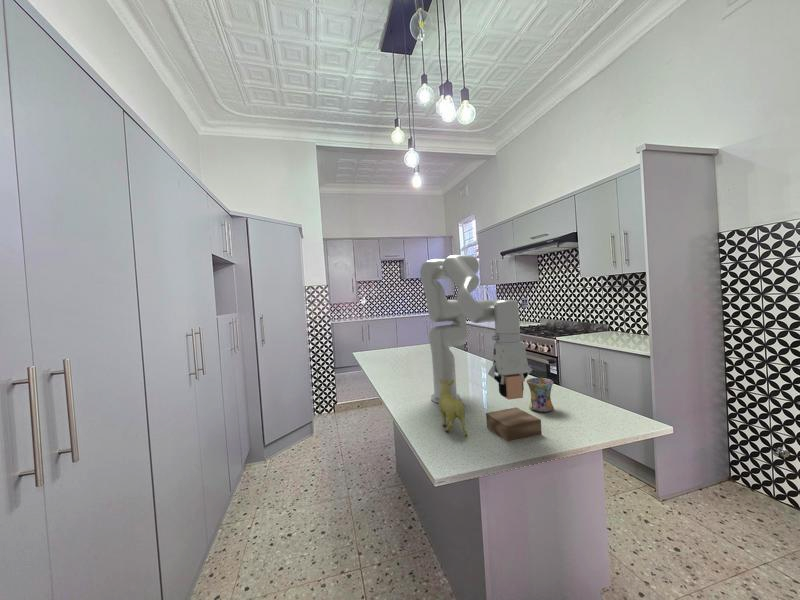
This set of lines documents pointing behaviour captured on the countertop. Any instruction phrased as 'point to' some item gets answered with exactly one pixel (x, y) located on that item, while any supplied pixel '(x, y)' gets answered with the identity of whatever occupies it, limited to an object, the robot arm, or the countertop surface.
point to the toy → (451, 407)
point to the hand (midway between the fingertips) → (511, 393)
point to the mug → (540, 394)
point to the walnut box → (513, 424)
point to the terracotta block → (513, 386)
